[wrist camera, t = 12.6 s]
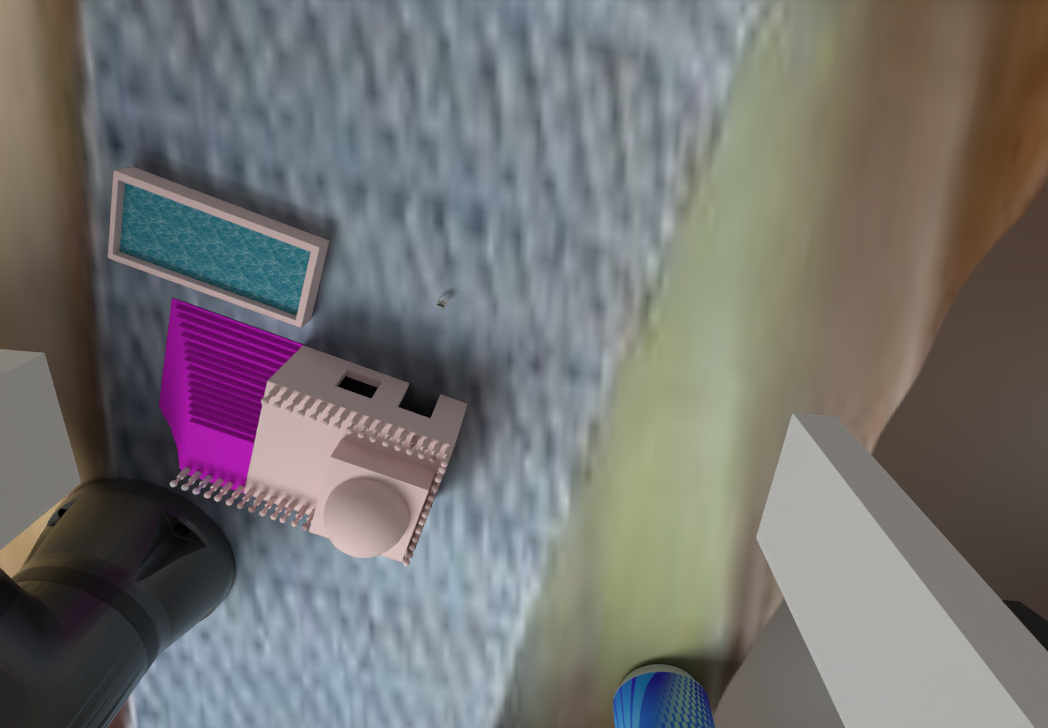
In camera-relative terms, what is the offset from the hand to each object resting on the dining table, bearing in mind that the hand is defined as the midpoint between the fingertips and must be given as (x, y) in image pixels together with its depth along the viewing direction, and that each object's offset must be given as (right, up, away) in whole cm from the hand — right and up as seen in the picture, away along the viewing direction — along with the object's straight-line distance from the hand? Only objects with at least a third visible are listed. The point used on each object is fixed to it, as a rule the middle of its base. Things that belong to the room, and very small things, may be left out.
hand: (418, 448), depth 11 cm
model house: (-14, +3, +32) cm, 35 cm away
